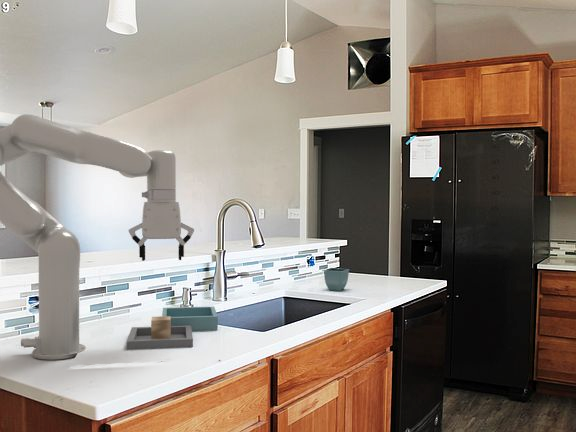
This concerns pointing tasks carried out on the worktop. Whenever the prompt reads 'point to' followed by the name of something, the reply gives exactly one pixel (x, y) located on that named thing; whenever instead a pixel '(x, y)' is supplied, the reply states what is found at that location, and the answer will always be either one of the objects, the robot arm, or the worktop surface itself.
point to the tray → (193, 317)
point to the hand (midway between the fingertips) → (161, 259)
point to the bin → (142, 339)
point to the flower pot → (336, 278)
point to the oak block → (161, 327)
